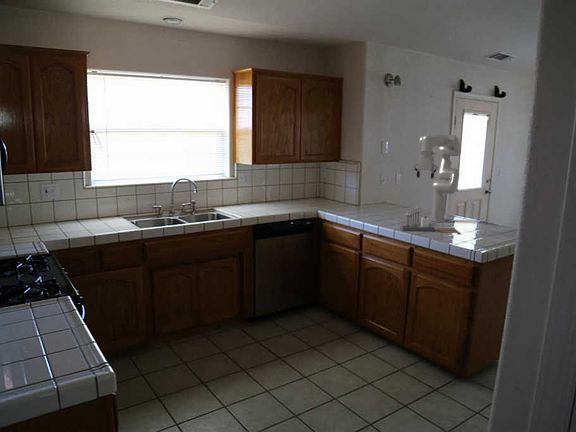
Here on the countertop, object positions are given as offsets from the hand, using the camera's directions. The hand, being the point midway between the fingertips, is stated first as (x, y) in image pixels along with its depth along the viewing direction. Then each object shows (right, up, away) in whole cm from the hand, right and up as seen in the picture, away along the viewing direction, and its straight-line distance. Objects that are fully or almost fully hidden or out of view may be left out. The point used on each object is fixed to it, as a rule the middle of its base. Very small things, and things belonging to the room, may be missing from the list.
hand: (425, 178), depth 312 cm
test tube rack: (-5, -35, +13) cm, 38 cm away
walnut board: (+15, -38, -4) cm, 41 cm away
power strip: (-6, -38, -2) cm, 38 cm away
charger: (-1, -37, -3) cm, 37 cm away
